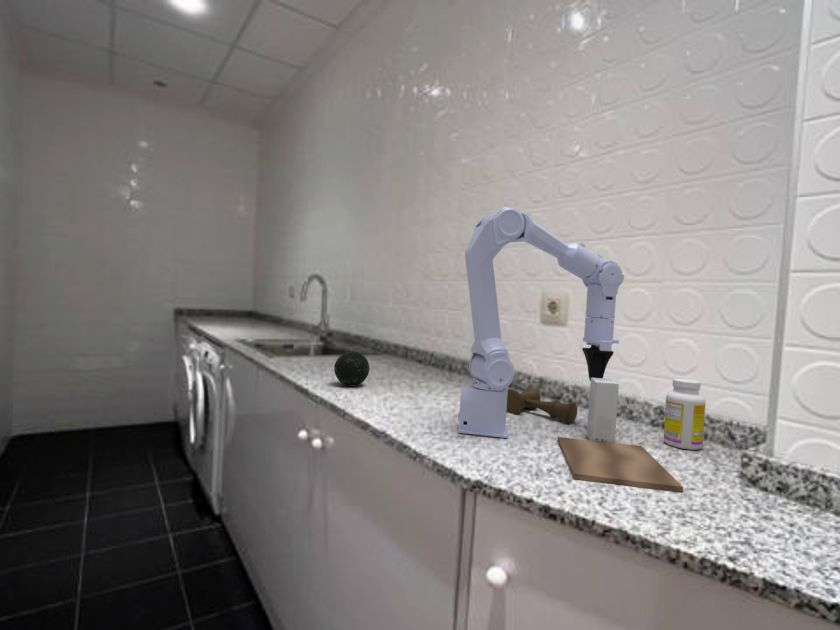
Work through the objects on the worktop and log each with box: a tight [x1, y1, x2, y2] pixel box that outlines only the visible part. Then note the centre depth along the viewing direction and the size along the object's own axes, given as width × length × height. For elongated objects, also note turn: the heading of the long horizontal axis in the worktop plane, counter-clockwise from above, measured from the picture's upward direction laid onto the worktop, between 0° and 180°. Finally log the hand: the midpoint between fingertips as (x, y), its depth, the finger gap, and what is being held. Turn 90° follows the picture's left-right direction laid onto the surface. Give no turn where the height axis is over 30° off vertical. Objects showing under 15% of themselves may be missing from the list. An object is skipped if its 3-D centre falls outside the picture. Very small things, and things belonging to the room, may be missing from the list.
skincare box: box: [586, 377, 619, 443], centre depth 86 cm, size 6×4×12 cm
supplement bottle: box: [663, 378, 706, 451], centre depth 86 cm, size 7×7×13 cm
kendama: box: [506, 387, 578, 425], centre depth 105 cm, size 6×10×20 cm
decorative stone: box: [333, 350, 370, 386], centre depth 127 cm, size 10×10×10 cm
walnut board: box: [557, 436, 684, 493], centre depth 74 cm, size 15×19×1 cm
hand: (595, 381), depth 93 cm, fingers closed
